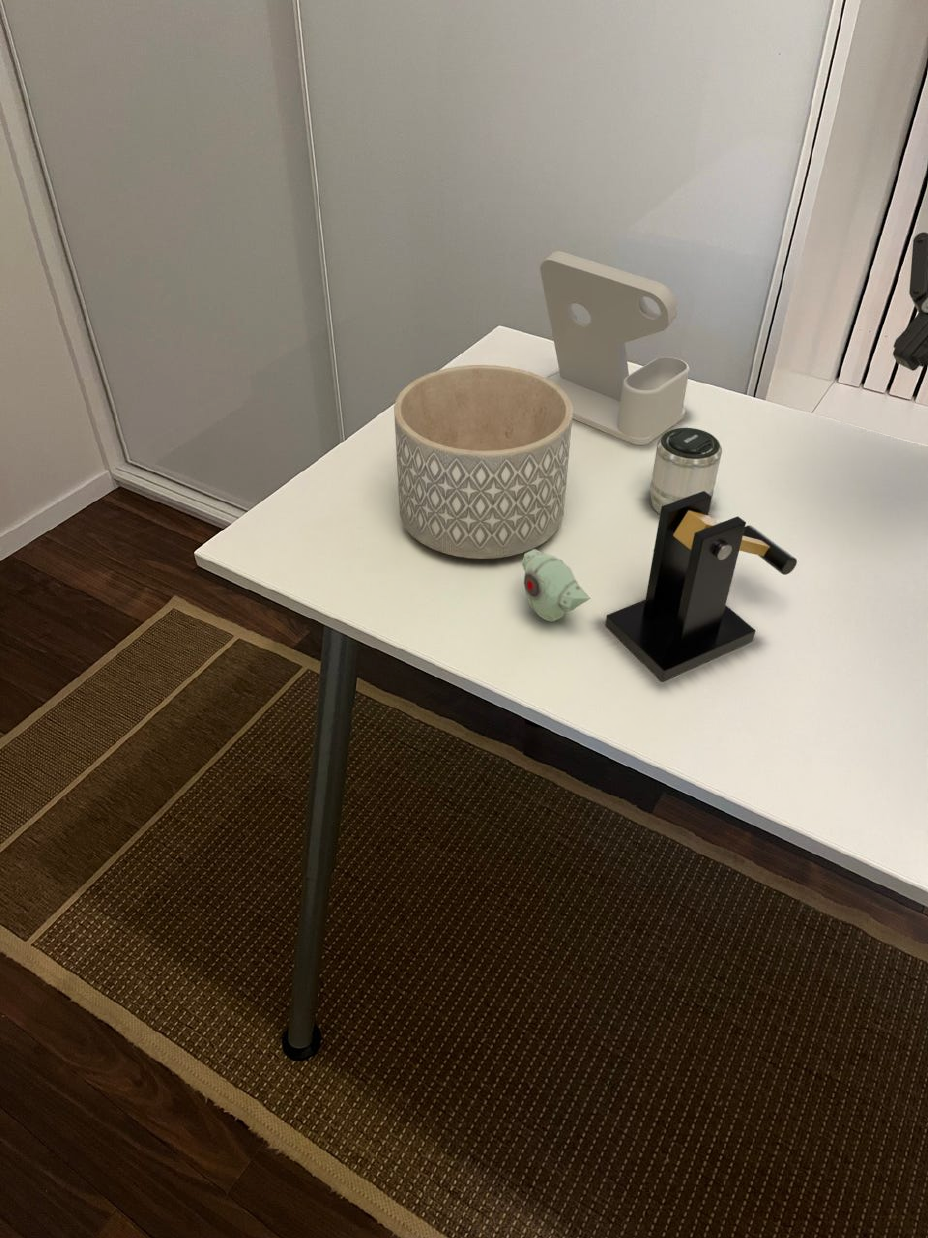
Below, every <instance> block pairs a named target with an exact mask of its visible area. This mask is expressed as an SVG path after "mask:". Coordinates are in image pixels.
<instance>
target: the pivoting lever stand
mask: <svg viewBox="0 0 928 1238" xmlns="http://www.w3.org/2000/svg"><path fill="white" fill-rule="evenodd" d="M712 498H713V496H710V495H709V494H708V493H706V492H705V491H702V492H699V493H697V494H694V495H691V496H688V497H686V498H683V499H680V500H677V501H675V502H672V503H669V504H666V505H664V506H662V507H661V512H660V514H659V519H658V525H657V531H656V537H655V542H654V549H653V553H652V554H653V555H652V560H651V564H650V571H649V577H648V581H647V582H648V583H647V587H646V594H645V599H643V600H641V601H638V602H635V603H633V604H631V605H628V606H626V607H623V608H620V609H618V610H615V611H613V612H611V613H609V614H606V618H605V627H606V628H607V629H608V630H609V631H610V632H611V633H612V634H613V635H614V636H615V637H616V638H617V639H618V640H619V641H620V642H621V643H622V644H623V645H624V646H625V647H626V648H627V649H628V650H629V651H630V652H631V653H632V654H633V655H634V656H635V657H637V659H639V661H641V663H642V664H643V665H644V666H645V667H646V668H648V670H649V671H651V672H652V673H653V674H654V675H655V676H656V677H657V678H658V679H659V680H660V681H661V682H662V683H663V682H666V681H667V680H670V679H672V678H674V677H676V676H678V675H681V674H683V673H685V672H687V671H689V670H692V669H695V668H696V667H698V666H701V665H703V664H705V663H707V662H709V661H712V660H714V659H716V658H719V657H721V656H723V655H725V654H727V653H730V652H731V651H734V650H736V649H739V648H740V647H743V646H746V645H748V644H749V643H752V642H753V641H754V638H755V634H756V629H755V628H754V627H752V625H750V624H749V623H748V622H747V621H745V620H744V619H743V618H742V617H741V616H740V615H739V614H737V613H736V612H735V611H734V610H733V609H731V608H730V607H729V606H728V605H727V601H728V597H729V593H730V589H731V586H732V581H733V577H734V573H735V569H736V566H737V565H736V564H737V561H738V557H739V553H740V551H739V549H740V545H741V541H742V537H743V533H744V529H745V527H746V526H747V522H746V521H745V520H744V519H742V518H741V517H740V516H734V517H732V518H730V519H727V520H724V521H721V522H718V523H719V524H716V525H714V526H711V527H708V528H706V529H703V530H700V531H698V532H695V534H694V539H693V543H692V548H691V550H690V549H689V548H688V547H686V546H685V545H684V544H683V543H681V542H680V541H679V540H678V539H677V538H675V537H674V536H673V534H674V533H675V531H676V530H677V528H678V526H679V525H680V523H681V521H682V520H683V518H684V517H685V515H686V513H687V512H688V511H689V510H690V511H693V512H697V513H701V514H704V515H708V516H709V512H710V509H711V504H712Z"/></svg>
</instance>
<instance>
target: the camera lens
mask: <svg viewBox="0 0 928 1238" xmlns="http://www.w3.org/2000/svg"><path fill="white" fill-rule="evenodd" d="M656 443H657V444H656V451H655V457H654V464H653V470H652V478H651V482H650V483H651V484H650V498H651V506H652V508H653V509H654V511H655V512H657V513H658V514H659V515H660V512H661V507H662V506H664V505H666V504H669V503H672V502H675V501H677V500H680V499H683V498H686V497H688V496H691V495H694V494H697V493H699V492H702V491H705V492H706V493H708V494H709V495H710V496H712V497H713V496H714V490H715V486H716V481H717V477H718V473H719V469H720V468H719V467H720V462H721V458H722V453H723V447H722V445H721V443H720V441H719V439H717V438H716V437H715V436H714V435H712V434H711V433H710V432H707V431H705V430H702V429H699V428H693V427H678V428H673V429H670V430H667V431H665V432H664V433H663V435H662V434H661V436H660V438H659V439H658V440H657V442H656Z"/></svg>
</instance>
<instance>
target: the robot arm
mask: <svg viewBox="0 0 928 1238" xmlns="http://www.w3.org/2000/svg"><path fill="white" fill-rule="evenodd" d="M908 292H909V293H908V294H909V296H910V298H911V301H912V302H913V304H914V306H915V309H916V310H917V312H918V313H917V315H916V316H915V317H914V318H913V320H911V322H909V324H908V325H907V326H906V328H905V329H904V330H903V331H902V332H901V334H900V335H899V336H898V337H897V338H896V339H895V341H894V344H893V348H894V350H893V352H892V356H893V357H894V359H895V361H896V363H897V364H899V365H900V366H902V367H904V368H906V369H908V370H910V371H913V372H914V371H916V370H917V369H918V368H919V367H922V368H923V367H925V366H926V365H928V232H920V233H918V234H916V235H915V237H913V240H912V251H911V266H910V279H909V291H908Z"/></svg>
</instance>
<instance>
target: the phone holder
mask: <svg viewBox="0 0 928 1238" xmlns="http://www.w3.org/2000/svg"><path fill="white" fill-rule="evenodd" d="M539 271H540V272H539V273H540V277H541V282H542V286H543V287H542V288H543V291H544V292H543V293H544V298H545V302H546V303H545V304H546V307H547V314H548V318H549V323H550V329H551V334H552V339H553V345H554V349H555V355H556V359H557V365H558V370H559V371H558V372H556V373H554V374H553V375H551V376H549V377H547V378H546V379H548V380H550V381H551V382H553V383H554V384H556V385H557V386H558V387H560V388H561V389H562V390H563V391H564V392H565V393H566V395H567V396H568V398H569V399H570V401H571V405H572V420H575V421H577V422H580V423H582V424H584V425H587V426H589V427H592V428H594V429H597V430H598V431H601V432H604V433H606V434H608V435H611V436H613V437H616V438H617V439H620V440H623V441H625V442H627V443H630V444H632V445H636V446H644V445H648V444H650V443H651V442H653V441H654V440H655V439H657V438H658V437H659V436H662V434H665V433H666V432H667V431H669V429H671V428H672V427H673V426H675V425H676V424H677V423H679V422H680V421H682V420H683V419H684V418H685V416H686V407H685V406H684V404H685V399H686V398H685V397H686V393H687V386H688V382H689V381H688V380H689V375H690V365H689V364H688V363H687V362H686V361H685V360H682V359H680V358H678V357H674V356H673V357H672V356H661V357H657V358H654V359H653V360H651V361H649V362H648V363H646V364H644V365H643V366H641V367H639V369H636V370H635V371H634V372H632V373H629V364H628V358H627V357H628V356H627V347H626V343H629V342H631V341H635V340H637V339H641V338H644V337H648V336H650V335H653V334H657V333H660V332H663V331H665V330H666V329H667V328H668V327H669V326H670V325H671V324H672V323H673V321H675V319H676V318H677V315H678V305H677V300H676V297H675V295H674V293H673V292H672V291H671V289H669V288H668V287H667V286H666V285H665V284H663V283H661V282H659V281H656V280H652V279H649V278H646V277H643V276H639V275H637V274H634V273H631V272H628V271H624V270H621V269H618V268H615V267H612V266H608V265H606V264H603V263H599V262H596V261H592V260H589V259H586V258H583V257H581V256H577V255H573V254H570V253H568V252H564V251H560V250H555V251H552V252H551V253H550V254H549V255H548V256H547V257H546V258H545V259H544V260H543V261H542V262H541V264H540V266H539ZM644 297H645V298H649V299H651V300H652V301H654V302H655V303H656V304H657V306H658V308H659V311H660V312H657V311H656V310H654V309H652V307H650V306H649V305H648V304H647V303H646V301H645V299H644ZM573 304H577V305H579V306H581V307H583V308H584V309H585V310H586V311H587V313H588V315H589V317H590V322H589V323H583V322H581V321H579V320H578V317H577V315H576V314H575V312H574V309H573Z"/></svg>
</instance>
